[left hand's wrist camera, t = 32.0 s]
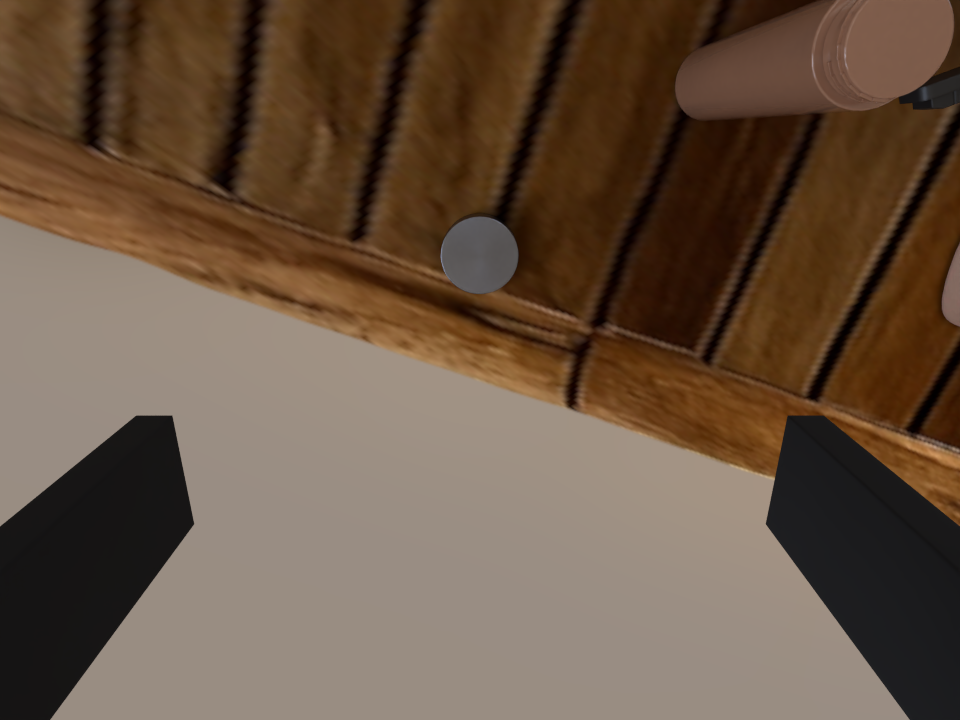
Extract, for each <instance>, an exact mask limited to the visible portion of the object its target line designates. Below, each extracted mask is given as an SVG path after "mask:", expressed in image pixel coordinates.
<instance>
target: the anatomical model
mask: <svg viewBox="0 0 960 720" xmlns="http://www.w3.org/2000/svg"><path fill="white" fill-rule="evenodd" d="M942 311H943V314H944V316H945V317H946V319H947V320H948V321H950V322H951V323H953V324H955V325H957V326H960V243H959V246H958V248H957V250H956V252H955V255H954V257H953V260H952V263H951V266H950V268H949V272H948V275H947V278H946V282H945V286H944V291H943V296H942Z"/></svg>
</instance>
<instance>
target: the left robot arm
mask: <svg viewBox="0 0 960 720" xmlns="http://www.w3.org/2000/svg"><path fill="white" fill-rule="evenodd" d="M193 525H194V521H193V516H192V511H191V506H190V501H189V496H188V491H187V486H186V481H185V476H184V472H183V467H182V462H181V457H180V452H179V447H178V442H177V437H176V432H175V427H174V422H173V417H172V416H135V417H134V418H133V419H132V420H130V421H129V422H128V423H127V424H125V425H124V426H123V427H122V428H121V429H119V430H118V431H117V432H116V433H114V434H113V435H112V436H111V437H110V438H108V439H107V440H106V441H105V442H103V443H102V444H101V445H100V446H98V447H97V448H96V449H95V450H94V451H92V452H91V453H90V454H89V455H87V456H86V457H85V458H84V459H83V460H81V461H80V462H79V463H78V464H76V465H75V466H74V467H73V468H71V469H70V470H69V471H68V472H67V473H65V474H64V475H63V476H62V477H60V478H59V479H58V480H57V481H56V482H54V483H53V484H52V485H51V486H49V487H48V488H47V489H46V490H45V491H43V492H42V493H41V494H40V495H38V496H37V497H36V498H35V499H33V500H32V501H31V502H30V503H28V504H27V505H26V506H25V507H24V508H22V509H21V510H20V511H19V512H17V513H16V514H15V515H14V516H13V517H11V518H10V519H9V520H8V521H6V522H5V523H4V524H3V525H1V526H0V720H50V719H51V718H52V716H53V715H54V714H55V712H56V711H57V710H58V708H59V707H60V706H61V704H62V703H63V702H64V700H65V699H66V697H67V696H68V695H69V693H70V692H71V691H72V689H73V688H74V687H75V685H76V684H77V682H78V681H79V680H80V678H81V677H82V676H83V674H84V673H85V672H86V670H87V669H88V668H89V666H90V665H91V664H92V662H93V661H94V659H95V658H96V657H97V655H98V654H99V653H100V651H101V650H102V649H103V647H104V646H105V645H106V643H107V642H108V640H109V639H110V638H111V636H112V635H113V634H114V632H115V631H116V630H117V628H118V627H119V625H120V624H121V623H122V621H123V620H124V619H125V617H126V616H127V615H128V613H129V612H130V610H131V609H132V608H133V606H134V605H135V604H136V602H137V601H138V600H139V598H140V597H141V596H142V594H143V593H144V591H145V590H146V589H147V587H148V586H149V585H150V583H151V582H152V581H153V579H154V578H155V577H156V575H157V574H158V573H159V571H160V570H161V568H162V567H163V566H164V564H165V563H166V562H167V560H168V559H169V558H170V556H171V555H172V553H173V552H174V551H175V549H176V548H177V547H178V545H179V544H180V543H181V541H182V540H183V539H184V537H185V536H186V534H187V533H188V532H189V530H190V529H191V528H192V526H193ZM766 525H767V526H768V528H769V529H770V530H771V532H772V533H773V534H774V536H775V537H776V539H777V540H778V541H779V543H780V544H781V545H782V547H783V548H784V549H785V551H786V552H787V553H788V555H789V556H790V558H791V559H792V560H793V562H794V563H795V564H796V566H797V567H798V568H799V570H800V571H801V572H802V574H803V575H804V576H805V578H806V579H807V581H808V582H809V583H810V585H811V586H812V587H813V589H814V590H815V592H816V593H817V594H818V596H819V597H820V598H821V600H822V601H823V602H824V604H825V605H826V606H827V608H828V609H829V611H830V612H831V613H832V615H833V616H834V617H835V619H836V620H837V621H838V623H839V624H840V625H841V627H842V628H843V630H844V631H845V632H846V634H847V635H848V636H849V638H850V639H851V640H852V642H853V643H854V644H855V646H856V647H857V649H858V650H859V651H860V653H861V654H862V655H863V657H864V658H865V659H866V661H867V662H868V664H869V665H870V666H871V668H872V669H873V670H874V672H875V673H876V674H877V676H878V677H879V678H880V680H881V681H882V683H883V684H884V685H885V687H886V688H887V689H888V691H889V692H890V693H891V695H892V696H893V697H894V699H895V700H896V702H897V703H898V704H899V706H900V707H901V708H902V710H903V711H904V712H905V714H906V715H907V717H908V718H909V719H910V720H960V526H959V525H957V524H956V523H955V522H954V521H952V520H951V519H950V518H949V517H947V516H946V515H945V514H944V513H943V512H941V511H940V510H939V509H938V508H936V507H935V506H934V505H933V504H932V503H930V502H929V501H928V500H927V499H925V498H924V497H923V496H922V495H920V494H919V493H918V492H917V491H916V490H914V489H913V488H912V487H911V486H909V485H908V484H907V483H906V482H904V481H903V480H902V479H901V478H900V477H898V476H897V475H896V474H895V473H893V472H892V471H891V470H890V469H889V468H887V467H886V466H885V465H884V464H882V463H881V462H880V461H879V460H877V459H876V458H875V457H874V456H873V455H871V454H870V453H869V452H868V451H866V450H865V449H864V448H863V447H862V446H860V445H859V444H858V443H857V442H855V441H854V440H853V439H852V438H850V437H849V436H848V435H847V434H846V433H844V432H843V431H842V430H841V429H839V428H838V427H837V426H836V425H835V424H833V423H832V422H831V421H830V420H828V419H827V418H826V417H825V416H788V417H787V422H786V427H785V432H784V437H783V442H782V447H781V452H780V457H779V462H778V466H777V471H776V476H775V481H774V486H773V491H772V496H771V501H770V506H769V511H768V516H767V521H766Z"/></svg>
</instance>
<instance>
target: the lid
mask: <svg viewBox="0 0 960 720" xmlns="http://www.w3.org/2000/svg"><path fill="white" fill-rule="evenodd" d="M441 262H442V266H443V269H444V272H445V273H446V275H447V277H448V278H449V280H450V281H451V282H452V283H453V284H454V285H456V286H457V287H458V288H460V289H462V290H464V291H466V292H469V293H474V294H485V293H490V292H493V291H495V290H497V289H499V288H501V287H502V286H504V285H505V284H506V283H507V282H508V281H509V280H510V279H511V277H512V276H513V274H514V272H515V270H516V267H517V263H518V247H517V243H516V240H515V237H514V235H513V233H512V231H511V230H510V228H509V227H508V226H507V225H506V224H505V223H504V222H503V221H502V220H500V219H499V218H497V217H495V216H492V215H489V214H482V213H477V214H471V215H467V216H465V217H463V218H461V219H459V220H458V221H456V222H455V223H454V224H453V225H452V226H451V227H450V229H449V230H448V232H447V234H446V236H445V238H444V241H443V244H442V248H441Z"/></svg>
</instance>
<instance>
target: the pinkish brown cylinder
mask: <svg viewBox="0 0 960 720" xmlns="http://www.w3.org/2000/svg"><path fill="white" fill-rule="evenodd" d="M953 33H954V14H953V10H952V6H951V4H950V1H949V0H817V1H814V2H812V3H809V4H807V5H804V6H802V7H799V8H797V9H794V10H792V11H789V12H787V13H784V14H782V15H779V16H777V17H774V18H772V19H769V20H767V21H764V22H762V23H759V24H757V25H754V26H752V27H750V28H747V29H745V30H742V31H740V32H737V33H735V34H732V35H730V36H727V37H725V38H722V39H720V40H717V41H715V42H712V43H710V44H707V45H705V46H702V47H700V48H698V49H696V50H695V51H694V52H692V53H691V54H690V55H689V56H688V57H687V58H686V59H685V60H684V62H683V63H682V65H681V67H680V69H679V71H678V74H677V77H676V83H675V92H676V97H677V101H678V103H679V105H680V107H681V108H682V110H683V111H684V112H685V113H686V114H687V115H689V116H690V117H692V118H694V119H697V120H701V121H714V120H729V119H744V118H760V117H775V116H790V115H805V114H821V113H836V112H851V111H864V110H870V109H874V108H877V107H880V106H882V105H885V104H887V103H889V102H890V101H892V100H894V99H895V98H897V97H900V96H903V95H906V94H908V93H910V92H912V91H914V90H916V89H917V88H919V87H920V86H922V85H923V84H924V83H925V82H927V81H928V80H929V79H930V78H931V77H932V76H933V75H934V74H935V73H936V71H937V70H938V69H939V67H940V66H941V64H942V63H943V61H944V60H945V58H946V56H947V54H948V51H949V49H950V46H951V43H952V39H953Z"/></svg>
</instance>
